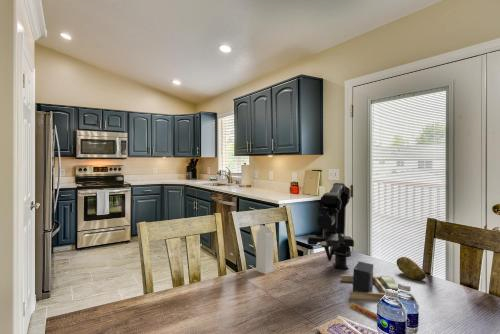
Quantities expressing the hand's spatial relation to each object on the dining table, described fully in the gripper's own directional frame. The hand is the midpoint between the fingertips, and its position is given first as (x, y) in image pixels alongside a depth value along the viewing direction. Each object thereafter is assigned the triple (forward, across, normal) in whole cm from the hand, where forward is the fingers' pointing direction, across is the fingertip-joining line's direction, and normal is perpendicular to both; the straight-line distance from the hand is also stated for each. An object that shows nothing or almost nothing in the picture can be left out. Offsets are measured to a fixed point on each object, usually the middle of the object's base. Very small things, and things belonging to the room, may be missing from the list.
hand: (329, 260), depth 124 cm
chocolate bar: (+13, +10, -19) cm, 25 cm away
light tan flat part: (+12, +18, 0) cm, 22 cm away
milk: (+12, -28, +15) cm, 34 cm away
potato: (+12, +40, +17) cm, 45 cm away
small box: (+12, +14, -1) cm, 19 cm away
